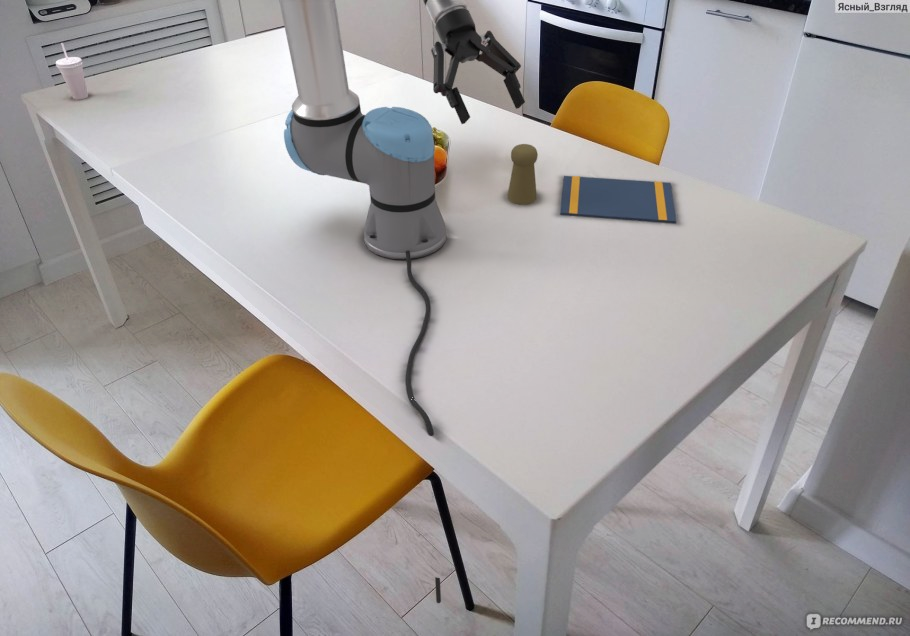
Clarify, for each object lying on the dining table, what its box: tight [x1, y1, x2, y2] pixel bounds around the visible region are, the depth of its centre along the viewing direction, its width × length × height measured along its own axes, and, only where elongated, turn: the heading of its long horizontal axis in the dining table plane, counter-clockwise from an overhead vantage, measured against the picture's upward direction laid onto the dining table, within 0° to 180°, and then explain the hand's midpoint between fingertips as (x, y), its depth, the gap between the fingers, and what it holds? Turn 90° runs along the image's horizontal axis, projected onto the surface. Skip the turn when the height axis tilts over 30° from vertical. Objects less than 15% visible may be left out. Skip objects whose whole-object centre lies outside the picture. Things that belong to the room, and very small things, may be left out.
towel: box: [559, 175, 677, 224], centre depth 144 cm, size 16×22×1 cm
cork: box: [506, 143, 539, 206], centre depth 142 cm, size 6×6×11 cm
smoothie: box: [55, 42, 89, 100], centre depth 188 cm, size 6×6×14 cm
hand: (494, 113), depth 143 cm, fingers open, 13 cm apart
